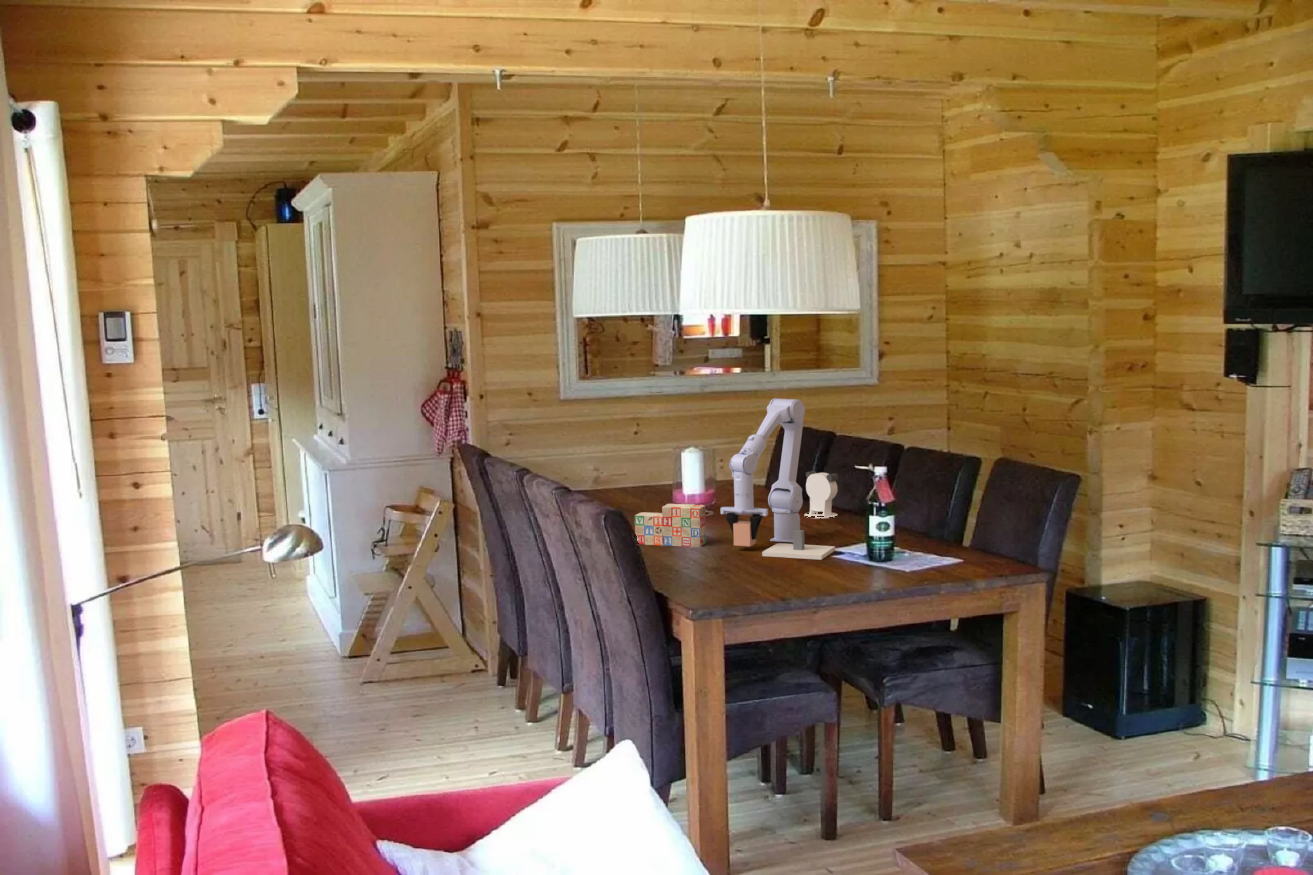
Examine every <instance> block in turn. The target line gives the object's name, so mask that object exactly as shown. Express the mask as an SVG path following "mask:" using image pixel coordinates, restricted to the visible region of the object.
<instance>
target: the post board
mask: <svg viewBox="0 0 1313 875" xmlns="http://www.w3.org/2000/svg"><path fill="white" fill-rule="evenodd" d="M835 551H836V546H835V545H833V546H831V545H816V544H805V530H804V529H800V530H795V531H793V542H792V543H786V542H777V543H775V544H774V545H772V546H770V547H769V548H766V549H764V550H763V551H762V552H761V556H762V557H773V558H775V557H776V558H789V559H805V560H820V561H822V560H823V559H825V558H826V557H827V556H829V555H831V554H832V553H834V552H835Z"/></svg>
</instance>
